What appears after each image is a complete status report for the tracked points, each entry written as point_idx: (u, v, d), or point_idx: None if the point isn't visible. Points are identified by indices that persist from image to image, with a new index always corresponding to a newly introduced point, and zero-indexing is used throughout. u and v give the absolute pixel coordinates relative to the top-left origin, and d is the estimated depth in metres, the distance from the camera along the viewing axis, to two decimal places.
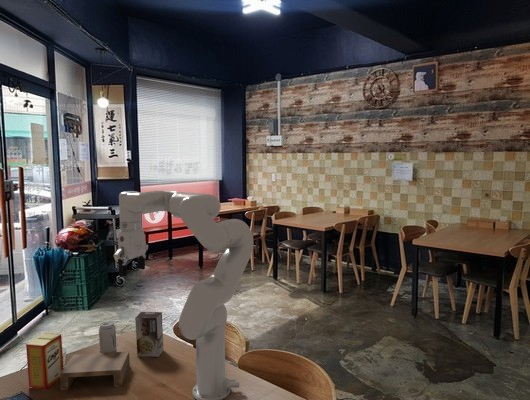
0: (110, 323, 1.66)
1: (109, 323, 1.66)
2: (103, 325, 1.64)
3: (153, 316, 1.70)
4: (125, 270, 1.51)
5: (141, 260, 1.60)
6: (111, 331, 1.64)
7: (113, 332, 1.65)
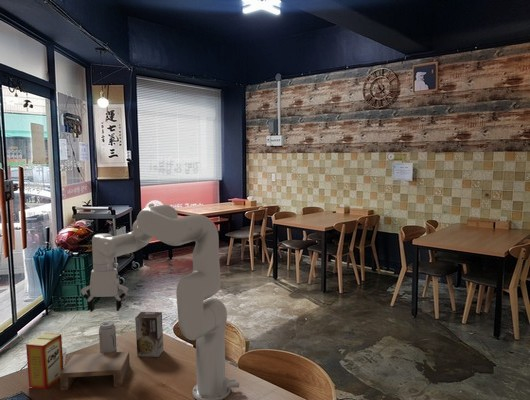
0: (110, 323, 1.66)
1: (109, 323, 1.66)
2: (103, 325, 1.64)
3: (153, 316, 1.70)
4: None
5: (93, 301, 1.65)
6: (111, 331, 1.64)
7: (113, 332, 1.65)
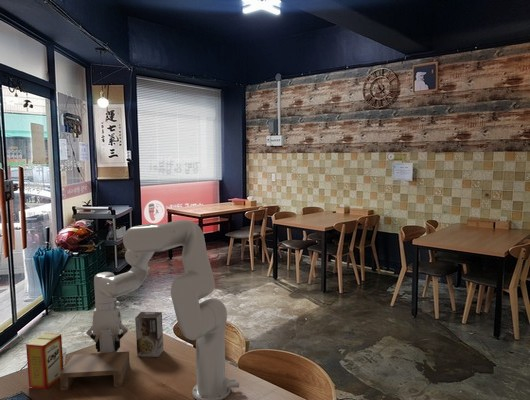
0: None
1: None
2: None
3: (153, 316, 1.70)
4: None
5: None
6: None
7: None
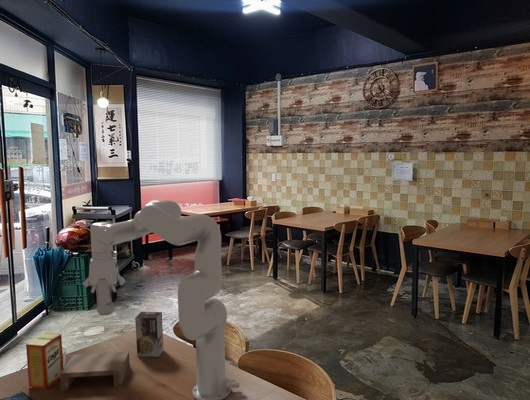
0: None
1: None
2: None
3: (153, 316, 1.70)
4: None
5: None
6: None
7: None
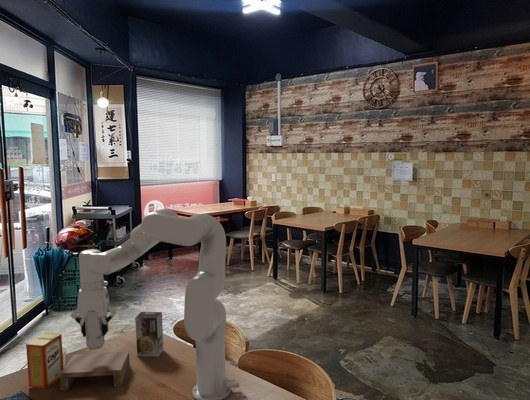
0: None
1: None
2: None
3: (153, 316, 1.70)
4: None
5: None
6: None
7: None
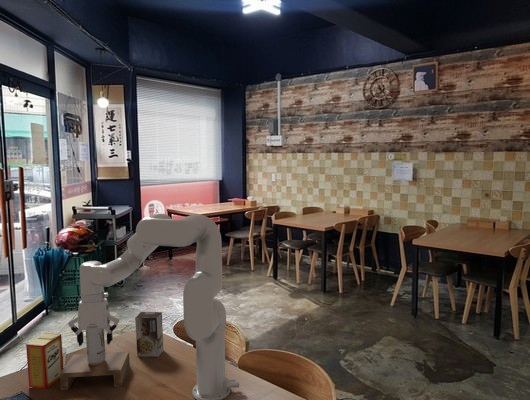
0: None
1: None
2: None
3: (153, 316, 1.70)
4: None
5: (82, 334, 1.53)
6: (99, 329, 1.51)
7: (101, 330, 1.52)
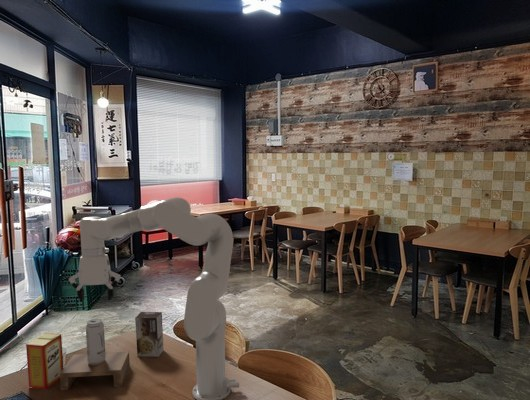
0: (98, 320, 1.53)
1: (97, 320, 1.53)
2: (90, 323, 1.51)
3: (153, 316, 1.70)
4: None
5: (83, 290, 1.52)
6: (99, 329, 1.51)
7: (101, 330, 1.52)
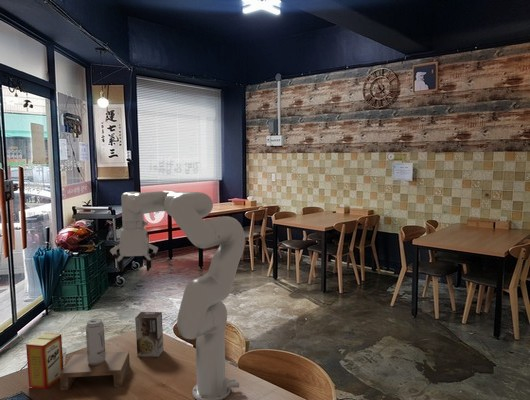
0: (98, 320, 1.53)
1: (97, 320, 1.53)
2: (90, 323, 1.51)
3: (153, 316, 1.70)
4: None
5: (122, 261, 1.61)
6: (99, 329, 1.51)
7: (101, 330, 1.52)
